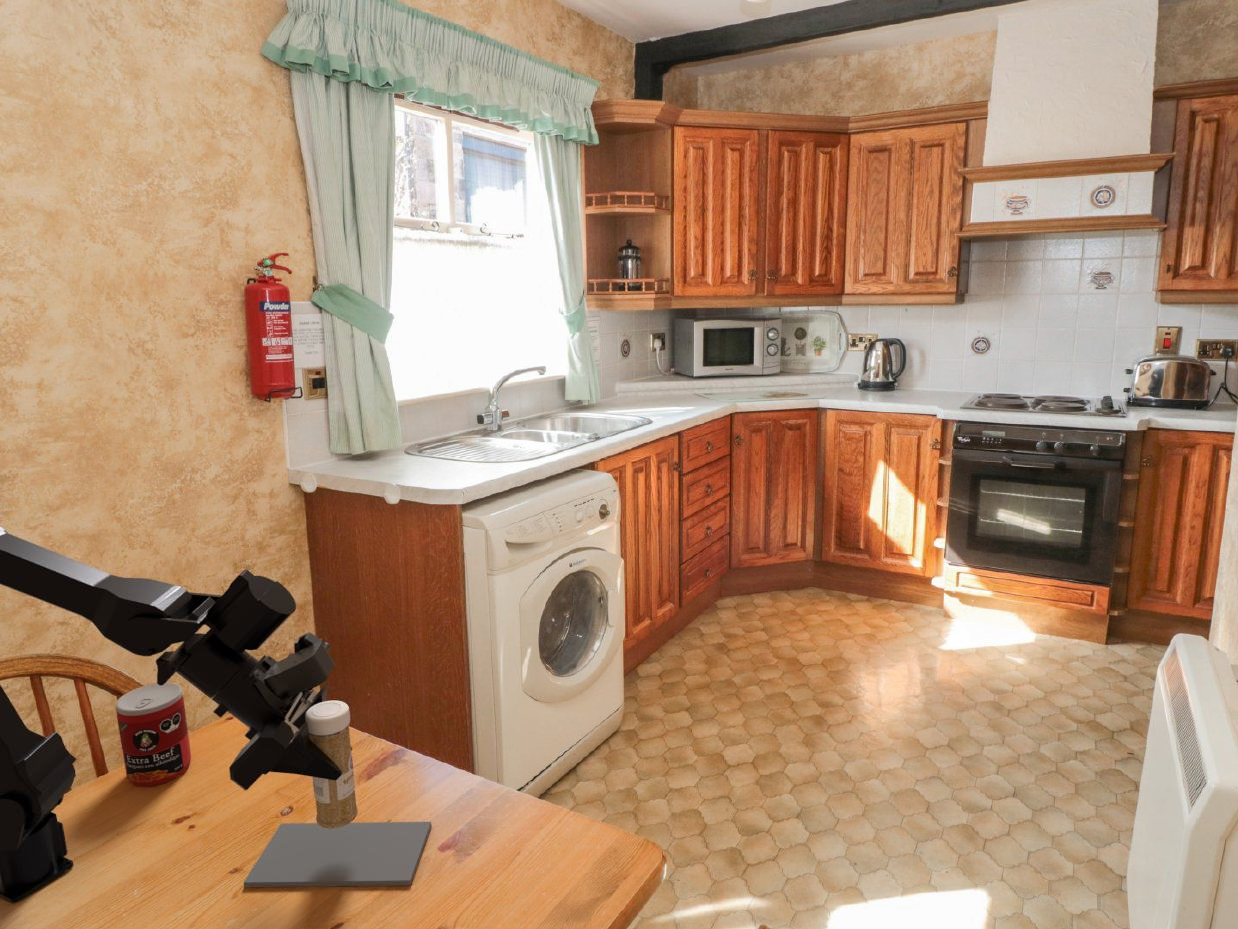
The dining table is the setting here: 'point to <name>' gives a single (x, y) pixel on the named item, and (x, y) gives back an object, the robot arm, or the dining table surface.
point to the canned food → (153, 734)
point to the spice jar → (334, 741)
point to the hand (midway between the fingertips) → (344, 764)
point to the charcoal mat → (341, 855)
